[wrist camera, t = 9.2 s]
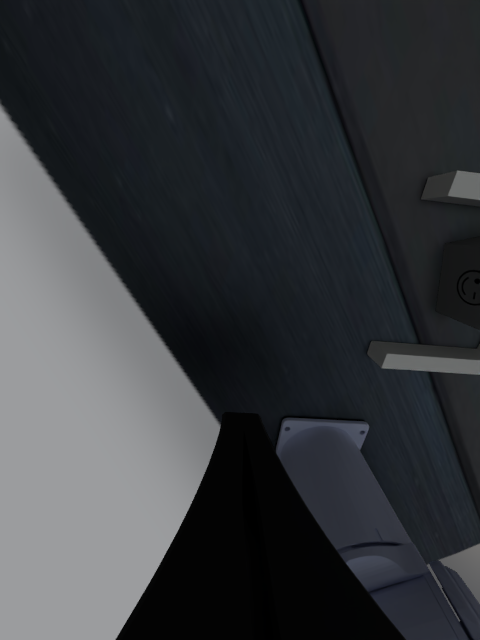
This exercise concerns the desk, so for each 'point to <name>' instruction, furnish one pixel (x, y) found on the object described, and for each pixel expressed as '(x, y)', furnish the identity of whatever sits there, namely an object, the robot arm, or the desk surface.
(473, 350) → the grey angular bar shape
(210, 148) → the desk surface
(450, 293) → the dice cube
